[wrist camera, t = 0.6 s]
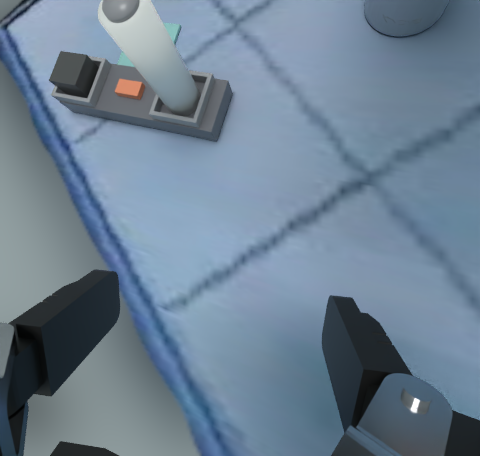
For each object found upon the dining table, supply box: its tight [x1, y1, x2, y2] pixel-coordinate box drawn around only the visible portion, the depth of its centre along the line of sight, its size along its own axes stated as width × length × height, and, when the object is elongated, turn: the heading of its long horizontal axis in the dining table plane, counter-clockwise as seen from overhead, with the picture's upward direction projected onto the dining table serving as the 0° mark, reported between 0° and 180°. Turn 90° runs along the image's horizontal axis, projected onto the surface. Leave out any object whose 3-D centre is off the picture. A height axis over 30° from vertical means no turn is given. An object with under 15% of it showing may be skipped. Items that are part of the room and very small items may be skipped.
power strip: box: [49, 51, 233, 141], centre depth 37 cm, size 7×24×6 cm, turn 73°
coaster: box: [117, 23, 181, 67], centre depth 41 cm, size 8×8×1 cm
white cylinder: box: [98, 0, 201, 116], centre depth 29 cm, size 5×5×13 cm
